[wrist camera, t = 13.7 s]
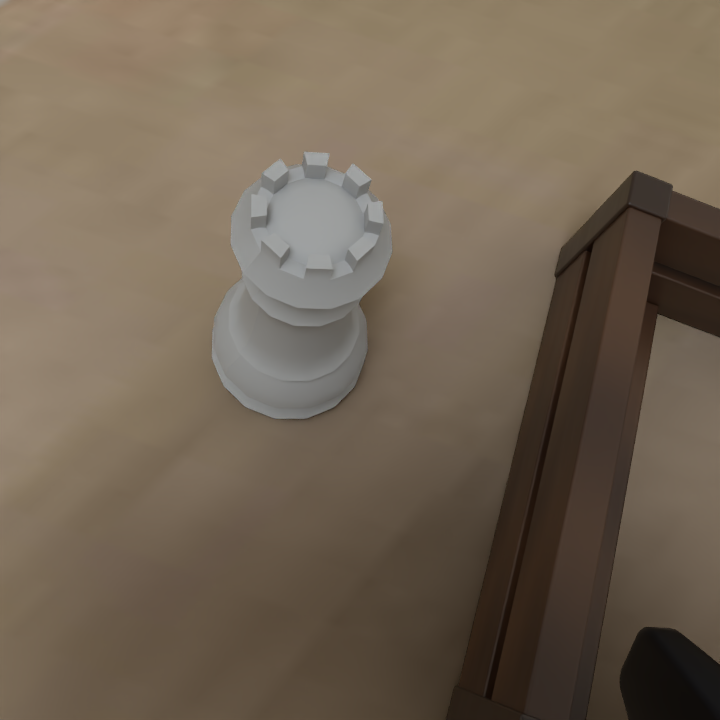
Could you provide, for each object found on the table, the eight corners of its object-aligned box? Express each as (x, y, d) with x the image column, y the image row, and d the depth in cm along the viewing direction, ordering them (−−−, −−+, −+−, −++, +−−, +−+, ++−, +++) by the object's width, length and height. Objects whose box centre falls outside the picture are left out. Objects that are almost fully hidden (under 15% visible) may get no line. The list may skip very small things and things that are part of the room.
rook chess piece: (267, 454, 19) (286, 365, 12) (181, 328, 20) (148, 170, 13) (391, 371, 21) (479, 245, 13) (307, 256, 21) (344, 76, 14)
